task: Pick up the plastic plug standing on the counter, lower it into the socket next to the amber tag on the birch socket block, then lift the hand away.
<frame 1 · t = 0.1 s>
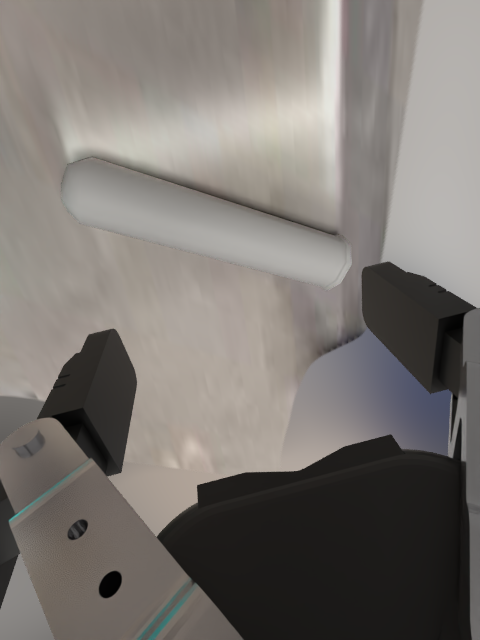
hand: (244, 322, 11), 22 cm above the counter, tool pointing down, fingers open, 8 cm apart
tube: (213, 218, 32), on the counter
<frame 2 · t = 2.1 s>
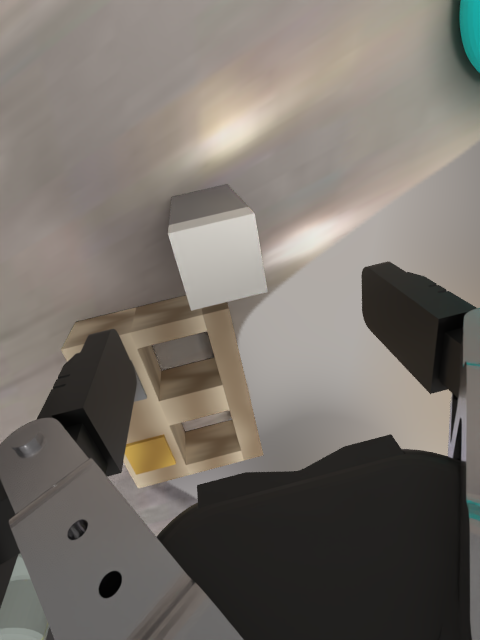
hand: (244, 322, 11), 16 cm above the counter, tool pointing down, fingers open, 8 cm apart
socket block: (177, 379, 31), on the counter
air freshener: (46, 531, 39), on the counter
plug: (206, 218, 25), on the counter
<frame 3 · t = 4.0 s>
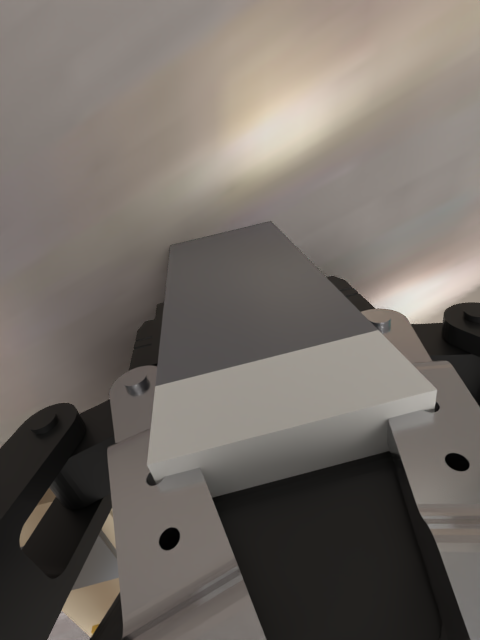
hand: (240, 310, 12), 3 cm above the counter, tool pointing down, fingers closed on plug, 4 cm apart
socket block: (180, 504, 21), on the counter
plug: (231, 280, 14), on the counter, touching gripper
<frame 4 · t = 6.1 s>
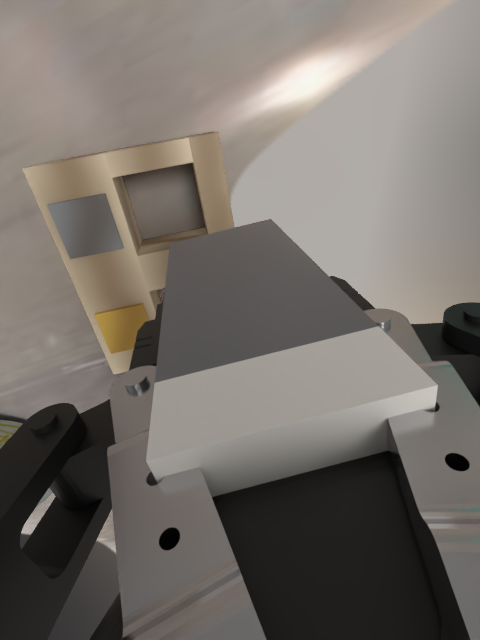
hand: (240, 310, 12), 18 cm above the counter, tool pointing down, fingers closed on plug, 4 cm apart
socket block: (160, 253, 28), on the counter
air freshener: (13, 442, 36), on the counter
plug: (231, 278, 14), point 15 cm above the counter, touching gripper
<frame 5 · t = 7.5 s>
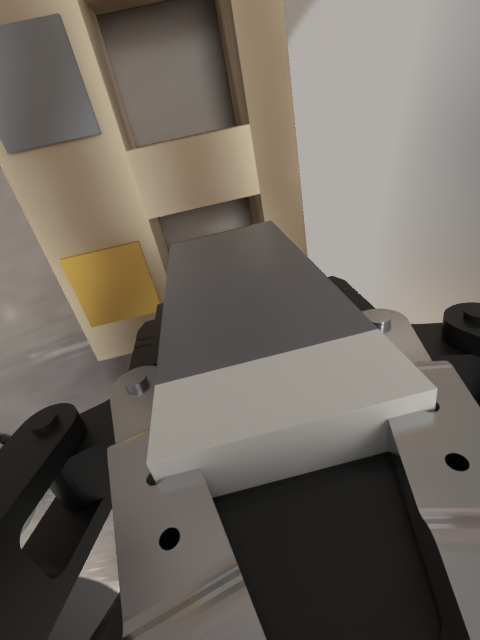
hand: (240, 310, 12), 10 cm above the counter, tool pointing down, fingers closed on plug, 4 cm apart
socket block: (166, 171, 18), on the counter
plug: (231, 279, 14), point 7 cm above the counter, touching gripper
when the fingers open (6 cm above the counter, at t = 8.7 s): plug drops 3 cm, resting in socket block.
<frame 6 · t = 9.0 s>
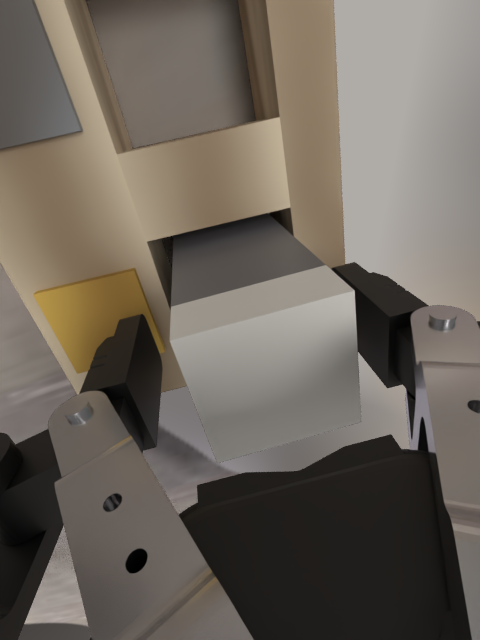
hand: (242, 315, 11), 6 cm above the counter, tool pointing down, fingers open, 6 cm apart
socket block: (169, 178, 15), on the counter
plug: (226, 255, 17), resting in socket block
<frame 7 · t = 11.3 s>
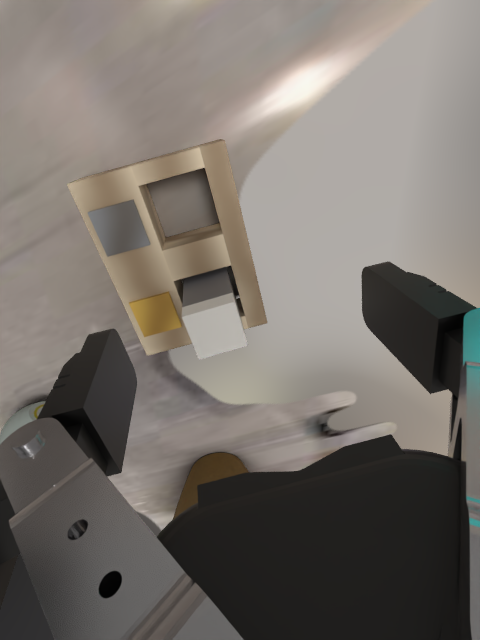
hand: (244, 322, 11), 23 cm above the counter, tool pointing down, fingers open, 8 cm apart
socket block: (181, 248, 32), on the counter
air freshener: (65, 421, 41), on the counter
plant pot: (218, 468, 48), on the counter
plug: (210, 281, 34), resting in socket block
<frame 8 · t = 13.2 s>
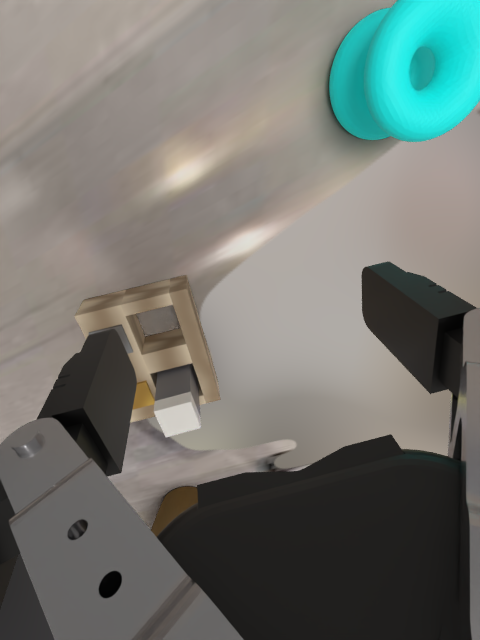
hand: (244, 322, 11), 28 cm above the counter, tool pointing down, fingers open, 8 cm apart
socket block: (157, 343, 43), on the counter
donuts: (373, 81, 33), on the counter
plant pot: (186, 498, 59), on the counter
plug: (178, 364, 45), resting in socket block
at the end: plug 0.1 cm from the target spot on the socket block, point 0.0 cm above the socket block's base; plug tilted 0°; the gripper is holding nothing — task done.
